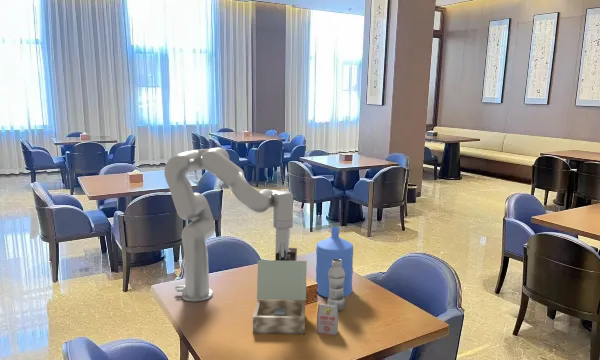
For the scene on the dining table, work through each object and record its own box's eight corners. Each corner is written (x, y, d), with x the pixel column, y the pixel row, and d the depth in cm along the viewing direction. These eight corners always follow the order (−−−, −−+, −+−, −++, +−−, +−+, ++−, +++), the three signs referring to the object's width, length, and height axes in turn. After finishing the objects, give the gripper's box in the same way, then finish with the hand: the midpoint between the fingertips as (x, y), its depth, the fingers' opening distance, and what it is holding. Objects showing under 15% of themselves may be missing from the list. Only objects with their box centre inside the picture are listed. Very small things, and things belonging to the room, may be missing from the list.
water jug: (353, 299, 186) (355, 233, 181) (315, 298, 186) (316, 233, 181) (350, 284, 201) (352, 223, 196) (315, 284, 201) (316, 223, 197)
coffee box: (274, 286, 198) (274, 251, 195) (276, 280, 204) (276, 246, 202) (295, 287, 197) (295, 252, 195) (296, 281, 203) (297, 247, 201)
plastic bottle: (343, 313, 173) (345, 263, 169) (326, 312, 174) (327, 262, 171) (345, 306, 179) (346, 258, 176) (328, 304, 180) (329, 256, 177)
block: (275, 319, 166) (275, 307, 165) (285, 319, 166) (285, 308, 165) (273, 326, 161) (273, 314, 160) (285, 326, 161) (285, 314, 160)
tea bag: (319, 328, 162) (319, 301, 160) (337, 330, 160) (338, 304, 158) (316, 333, 158) (317, 306, 156) (335, 335, 156) (336, 308, 155)
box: (252, 333, 158) (252, 317, 157) (257, 314, 171) (257, 299, 170) (304, 334, 157) (304, 318, 156) (305, 315, 171) (305, 300, 170)
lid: (258, 260, 173) (258, 260, 174) (256, 299, 171) (257, 299, 172) (306, 261, 172) (306, 260, 174) (306, 300, 170) (306, 299, 171)
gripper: (274, 218, 183) (274, 261, 186) (272, 228, 168) (272, 274, 171) (293, 218, 183) (293, 261, 186) (292, 228, 168) (291, 275, 171)
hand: (283, 267), depth 178 cm, fingers closed
